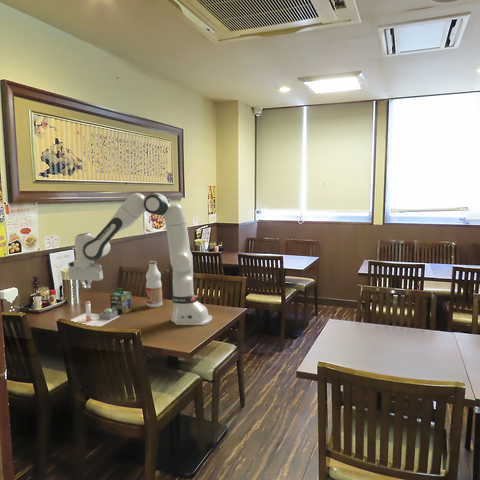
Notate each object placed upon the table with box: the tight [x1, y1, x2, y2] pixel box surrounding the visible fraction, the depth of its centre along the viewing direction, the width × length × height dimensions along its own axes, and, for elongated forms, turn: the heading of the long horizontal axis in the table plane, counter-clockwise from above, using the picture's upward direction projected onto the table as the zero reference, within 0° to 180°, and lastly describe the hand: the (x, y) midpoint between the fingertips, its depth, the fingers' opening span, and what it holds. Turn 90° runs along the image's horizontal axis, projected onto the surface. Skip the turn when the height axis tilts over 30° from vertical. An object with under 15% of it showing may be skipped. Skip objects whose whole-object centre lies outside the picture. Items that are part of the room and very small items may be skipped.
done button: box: [104, 307, 112, 314], centre depth 218 cm, size 4×4×3 cm
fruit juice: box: [145, 260, 163, 308], centre depth 241 cm, size 9×9×28 cm
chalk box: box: [109, 287, 134, 315], centre depth 230 cm, size 9×9×15 cm
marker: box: [84, 300, 92, 321], centre depth 213 cm, size 3×3×10 cm
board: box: [70, 310, 121, 327], centre depth 216 cm, size 24×18×4 cm
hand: (86, 287), depth 212 cm, fingers closed
